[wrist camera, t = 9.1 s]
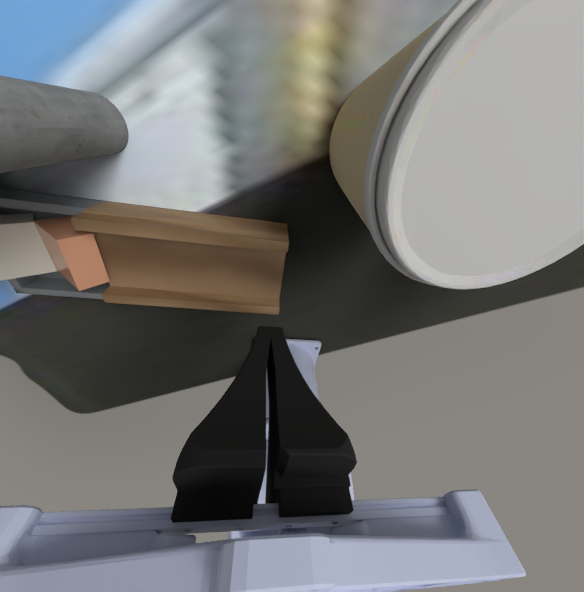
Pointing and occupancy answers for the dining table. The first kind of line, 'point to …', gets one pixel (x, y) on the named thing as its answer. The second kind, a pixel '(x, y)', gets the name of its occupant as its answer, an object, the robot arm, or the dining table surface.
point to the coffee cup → (472, 144)
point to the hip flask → (55, 125)
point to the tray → (45, 208)
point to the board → (187, 257)
